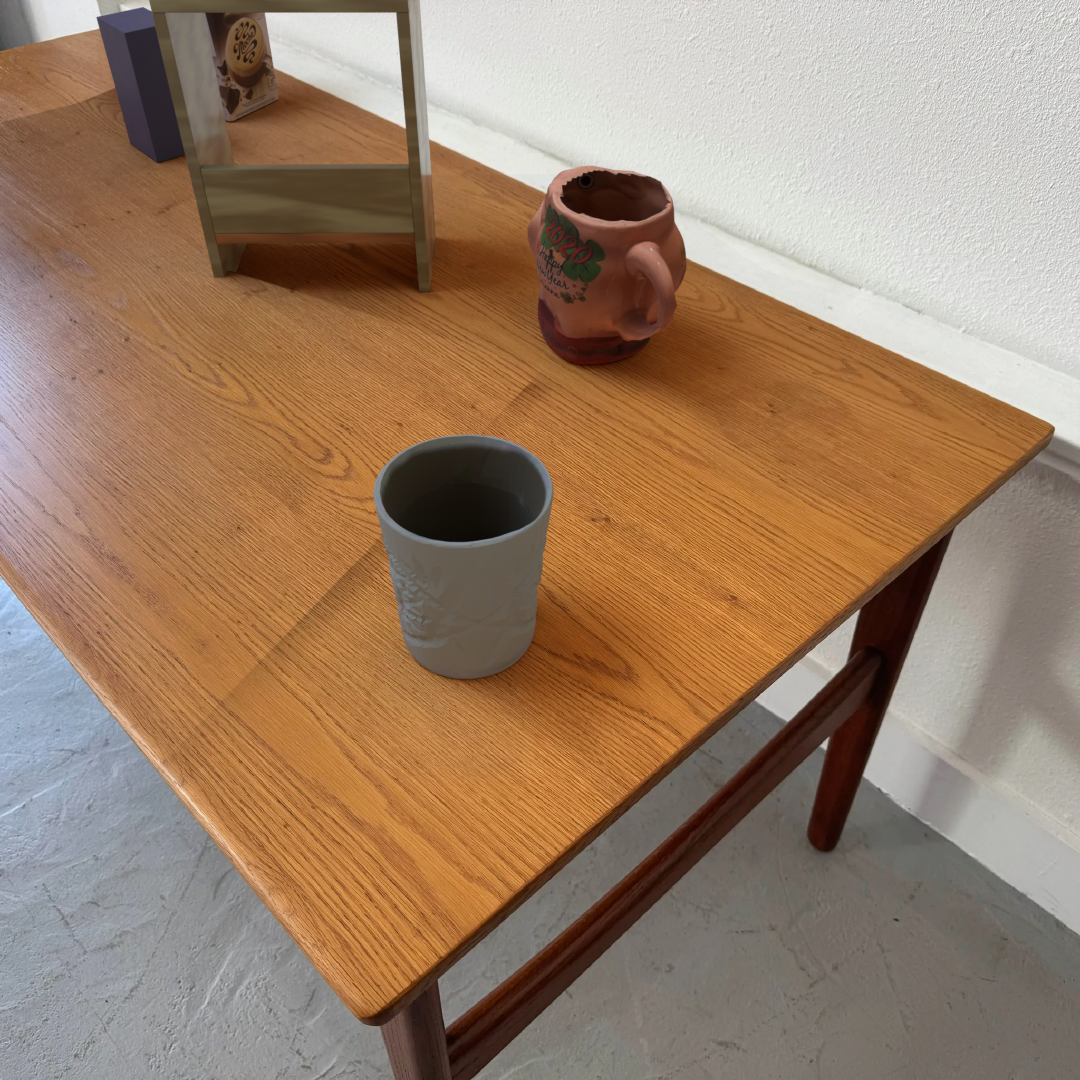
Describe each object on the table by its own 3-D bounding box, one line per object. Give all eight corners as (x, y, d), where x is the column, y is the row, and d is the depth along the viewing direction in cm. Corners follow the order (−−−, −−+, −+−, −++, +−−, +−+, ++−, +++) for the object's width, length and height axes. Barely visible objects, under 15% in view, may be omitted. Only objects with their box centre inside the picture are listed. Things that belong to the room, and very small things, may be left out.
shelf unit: (239, 238, 105) (181, -41, 87) (435, 237, 105) (416, -41, 88) (217, 293, 97) (148, -1, 80) (429, 291, 97) (407, -1, 80)
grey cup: (361, 645, 65) (337, 503, 57) (452, 551, 72) (442, 411, 64) (494, 713, 62) (488, 572, 53) (578, 608, 68) (585, 467, 60)
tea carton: (157, 163, 118) (124, 33, 108) (130, 144, 122) (96, 16, 112) (201, 150, 121) (172, 22, 111) (173, 132, 124) (143, 6, 115)
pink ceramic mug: (730, 382, 87) (755, 229, 77) (608, 426, 82) (619, 268, 73) (602, 279, 99) (610, 135, 90) (490, 311, 95) (486, 164, 85)
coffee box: (232, 123, 127) (204, -22, 115) (193, 112, 129) (162, -30, 118) (281, 99, 132) (258, -41, 121) (243, 89, 135) (217, -49, 124)
